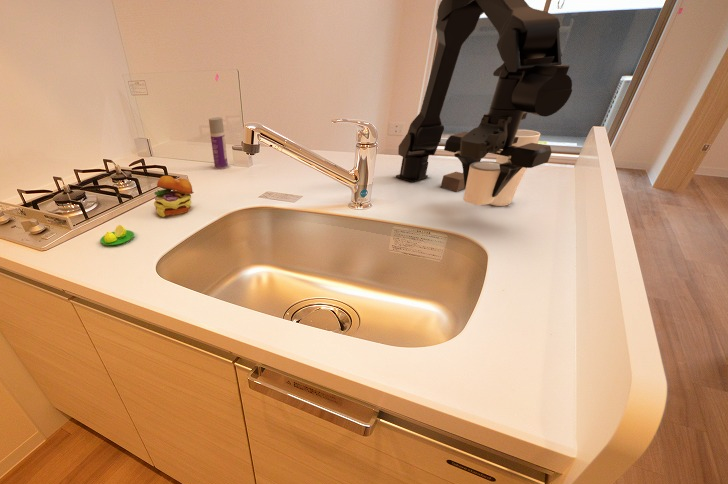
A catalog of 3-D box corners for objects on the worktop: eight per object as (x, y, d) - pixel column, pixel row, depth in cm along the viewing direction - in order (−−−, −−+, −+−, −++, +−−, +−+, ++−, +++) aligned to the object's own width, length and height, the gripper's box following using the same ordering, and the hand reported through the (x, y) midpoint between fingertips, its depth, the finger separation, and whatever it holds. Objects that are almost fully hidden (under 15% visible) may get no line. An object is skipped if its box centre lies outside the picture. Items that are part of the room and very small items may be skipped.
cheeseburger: (146, 214, 99) (143, 174, 94) (176, 210, 106) (174, 173, 102) (171, 220, 94) (169, 178, 89) (200, 216, 101) (200, 177, 96)
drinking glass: (518, 208, 85) (546, 135, 75) (486, 208, 86) (510, 137, 76) (508, 197, 90) (534, 128, 80) (478, 197, 91) (500, 130, 81)
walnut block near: (440, 187, 99) (443, 175, 97) (453, 182, 100) (456, 171, 98) (456, 191, 95) (459, 179, 93) (469, 187, 97) (472, 175, 95)
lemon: (118, 230, 92) (115, 219, 90) (141, 235, 88) (138, 224, 87) (94, 243, 87) (89, 232, 85) (117, 249, 83) (113, 238, 82)
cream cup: (497, 196, 79) (509, 162, 75) (493, 207, 75) (506, 171, 71) (463, 192, 82) (472, 159, 78) (457, 203, 78) (467, 168, 74)
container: (213, 169, 128) (206, 120, 118) (216, 165, 131) (210, 117, 122) (226, 168, 127) (220, 119, 117) (229, 165, 130) (223, 116, 121)
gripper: (435, 108, 71) (418, 190, 82) (531, 120, 59) (497, 215, 69) (473, 100, 75) (452, 179, 85) (571, 109, 62) (532, 201, 73)
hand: (480, 192), depth 78 cm, fingers closed on cream cup, 6 cm apart
